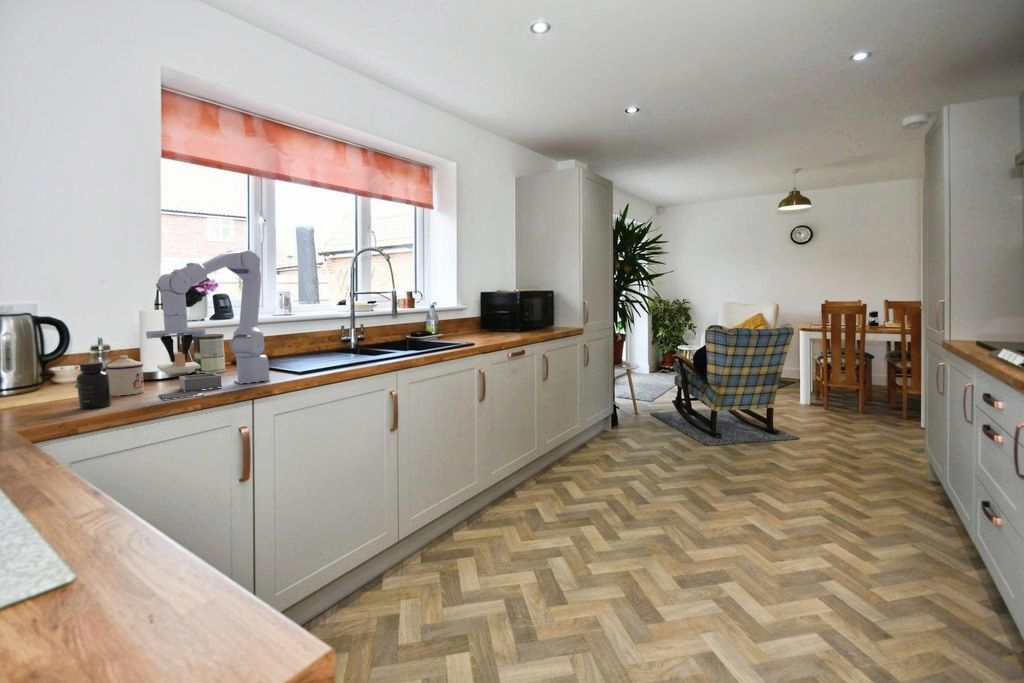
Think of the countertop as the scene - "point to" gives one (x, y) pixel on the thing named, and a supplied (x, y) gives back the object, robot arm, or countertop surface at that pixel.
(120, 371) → the ceramic lidded jar
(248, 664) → the countertop surface
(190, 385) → the box
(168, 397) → the mat
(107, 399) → the supplement bottle
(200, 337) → the coffee can
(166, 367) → the lid
